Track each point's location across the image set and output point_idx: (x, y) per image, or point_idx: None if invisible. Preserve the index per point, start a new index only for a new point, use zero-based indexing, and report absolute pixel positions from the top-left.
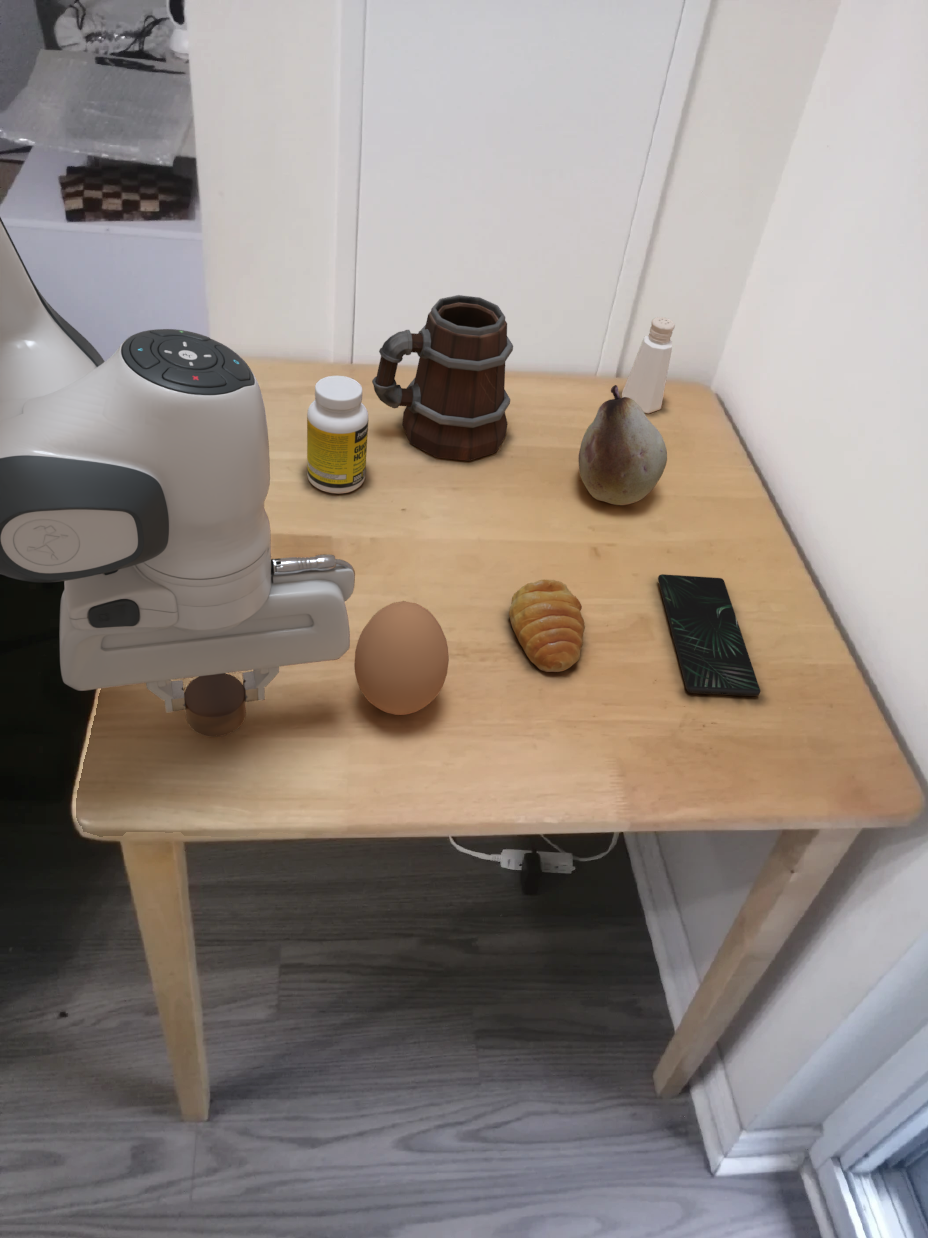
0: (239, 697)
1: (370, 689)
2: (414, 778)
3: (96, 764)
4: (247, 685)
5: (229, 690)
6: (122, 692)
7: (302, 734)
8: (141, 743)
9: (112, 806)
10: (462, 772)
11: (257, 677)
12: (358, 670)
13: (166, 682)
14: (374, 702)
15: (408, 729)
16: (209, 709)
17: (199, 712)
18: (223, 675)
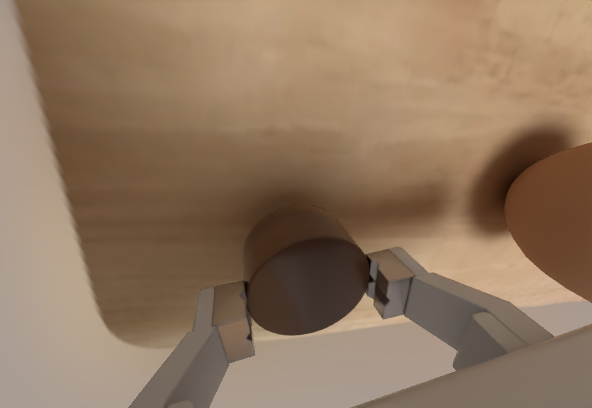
0: (356, 293)
1: (557, 277)
2: (476, 281)
3: (99, 287)
4: (389, 310)
5: (341, 279)
6: (86, 134)
7: (395, 233)
8: (166, 251)
9: (150, 336)
10: (516, 273)
11: (420, 309)
12: (580, 262)
13: (206, 366)
14: (526, 255)
15: (505, 226)
16: (299, 322)
17: (279, 329)
18: (335, 246)
